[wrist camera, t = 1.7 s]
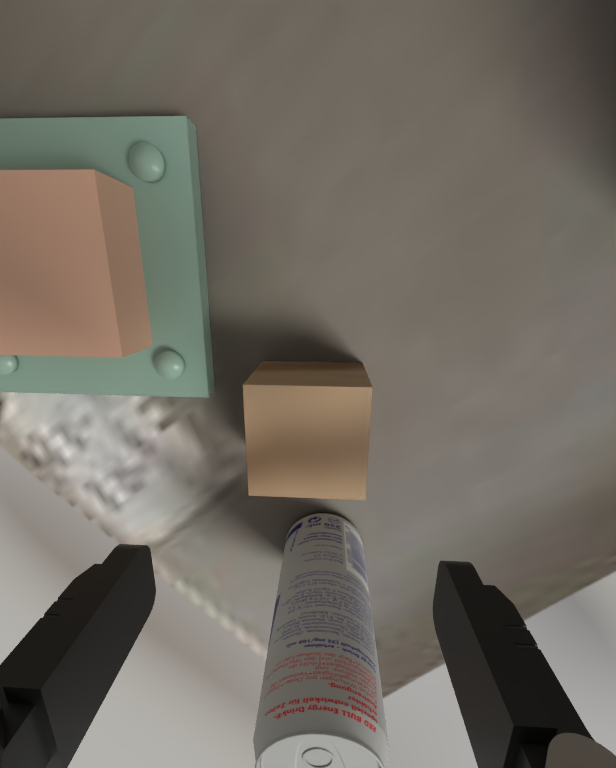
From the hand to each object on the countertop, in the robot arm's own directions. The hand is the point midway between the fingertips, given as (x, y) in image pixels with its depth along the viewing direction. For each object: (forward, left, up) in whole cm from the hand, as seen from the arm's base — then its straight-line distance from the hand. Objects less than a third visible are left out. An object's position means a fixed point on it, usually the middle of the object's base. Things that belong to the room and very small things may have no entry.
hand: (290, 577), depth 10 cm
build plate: (-8, -13, -13) cm, 20 cm away
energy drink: (+10, +1, -13) cm, 16 cm away
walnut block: (0, 0, -13) cm, 13 cm away
